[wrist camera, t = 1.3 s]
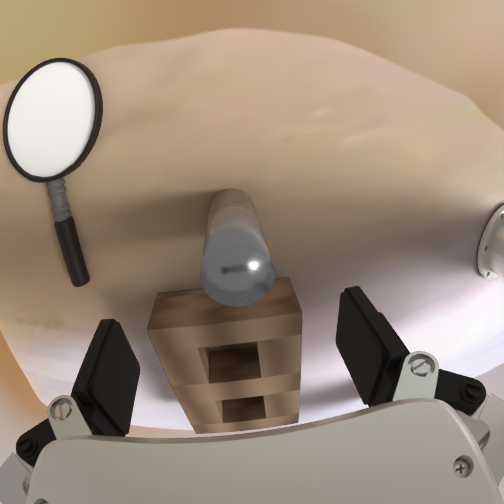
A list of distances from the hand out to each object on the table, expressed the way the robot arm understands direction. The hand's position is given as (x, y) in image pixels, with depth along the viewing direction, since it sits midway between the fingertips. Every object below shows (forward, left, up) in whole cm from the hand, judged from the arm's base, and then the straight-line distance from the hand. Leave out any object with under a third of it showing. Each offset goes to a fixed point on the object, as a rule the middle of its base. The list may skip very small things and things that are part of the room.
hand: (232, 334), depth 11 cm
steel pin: (0, 0, -17) cm, 17 cm away
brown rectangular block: (+2, +18, -17) cm, 25 cm away
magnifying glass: (+16, -7, -17) cm, 25 cm away
